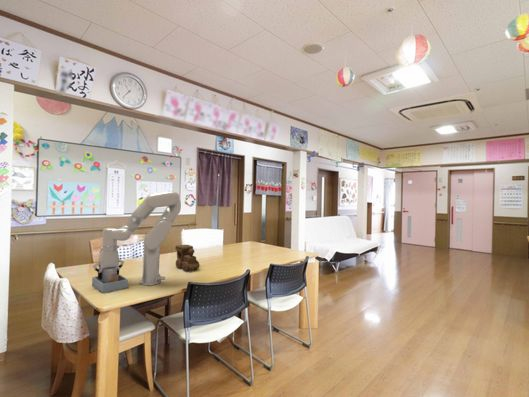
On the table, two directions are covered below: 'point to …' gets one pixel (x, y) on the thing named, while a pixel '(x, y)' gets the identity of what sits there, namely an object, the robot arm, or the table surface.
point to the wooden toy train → (186, 257)
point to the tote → (110, 284)
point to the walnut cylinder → (113, 278)
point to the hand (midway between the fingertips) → (108, 277)
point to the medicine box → (107, 274)
